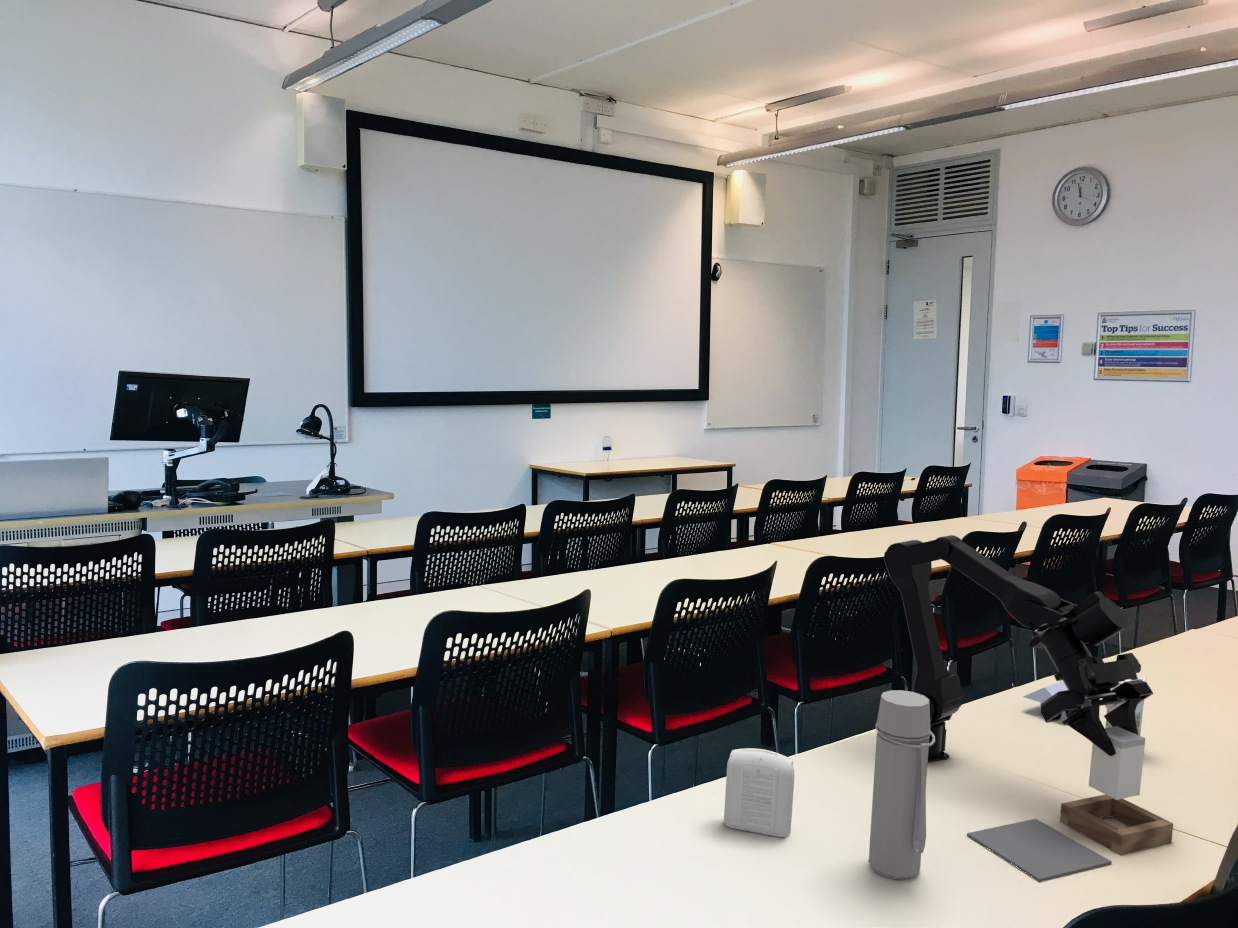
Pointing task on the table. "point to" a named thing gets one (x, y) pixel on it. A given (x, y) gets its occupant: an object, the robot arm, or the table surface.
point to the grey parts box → (1118, 765)
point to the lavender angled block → (1047, 693)
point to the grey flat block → (759, 792)
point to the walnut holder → (1089, 823)
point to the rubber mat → (1039, 849)
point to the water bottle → (900, 784)
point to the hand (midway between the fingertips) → (1125, 752)
